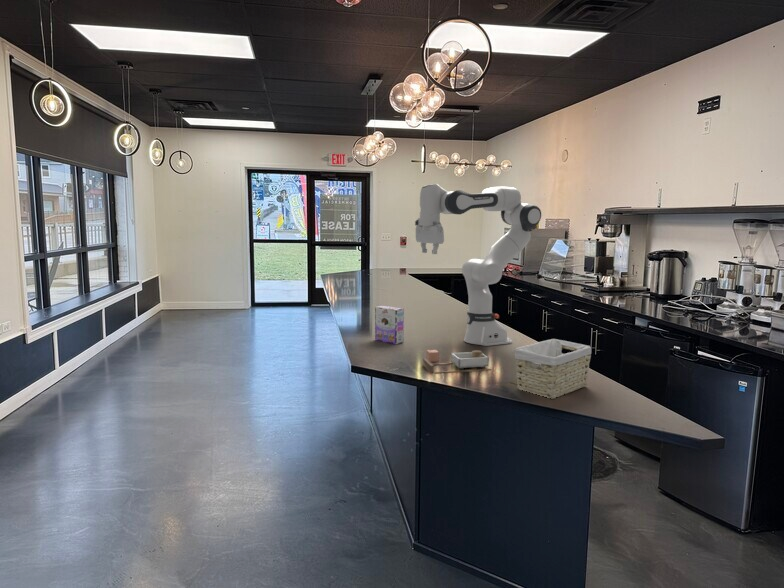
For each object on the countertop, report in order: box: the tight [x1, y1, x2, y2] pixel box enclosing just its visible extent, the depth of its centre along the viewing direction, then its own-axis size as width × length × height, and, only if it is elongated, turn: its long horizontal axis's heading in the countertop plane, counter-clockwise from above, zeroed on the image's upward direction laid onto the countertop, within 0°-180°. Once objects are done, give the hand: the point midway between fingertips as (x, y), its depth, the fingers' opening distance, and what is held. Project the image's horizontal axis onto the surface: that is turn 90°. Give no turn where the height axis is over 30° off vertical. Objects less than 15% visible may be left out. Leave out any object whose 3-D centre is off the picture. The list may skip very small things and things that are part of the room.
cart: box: [450, 351, 490, 370], centre depth 198 cm, size 12×9×5 cm
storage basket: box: [514, 338, 592, 400], centre depth 177 cm, size 24×16×15 cm
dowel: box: [471, 349, 483, 358], centre depth 199 cm, size 4×4×4 cm
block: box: [425, 349, 440, 363], centre depth 208 cm, size 4×4×5 cm
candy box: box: [374, 305, 405, 345], centre depth 243 cm, size 14×6×16 cm, turn 47°
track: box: [422, 358, 492, 374], centre depth 197 cm, size 24×13×4 cm, turn 103°
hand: (429, 253), depth 227 cm, fingers open, 8 cm apart
